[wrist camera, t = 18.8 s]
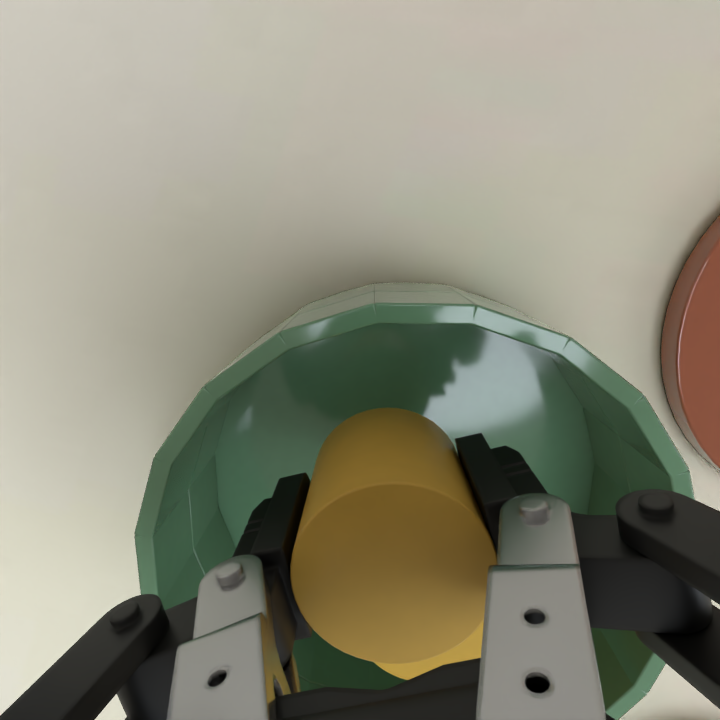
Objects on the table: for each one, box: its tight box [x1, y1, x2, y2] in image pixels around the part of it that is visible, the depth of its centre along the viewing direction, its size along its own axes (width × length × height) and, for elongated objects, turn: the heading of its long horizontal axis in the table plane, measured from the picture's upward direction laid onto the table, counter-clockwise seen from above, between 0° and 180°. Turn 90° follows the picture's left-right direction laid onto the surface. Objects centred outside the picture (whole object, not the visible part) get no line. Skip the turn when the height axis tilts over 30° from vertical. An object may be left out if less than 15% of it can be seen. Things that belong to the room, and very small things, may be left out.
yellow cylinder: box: [290, 408, 497, 664], centre depth 12 cm, size 4×4×4 cm
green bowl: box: [135, 282, 695, 720], centre depth 16 cm, size 15×15×6 cm
